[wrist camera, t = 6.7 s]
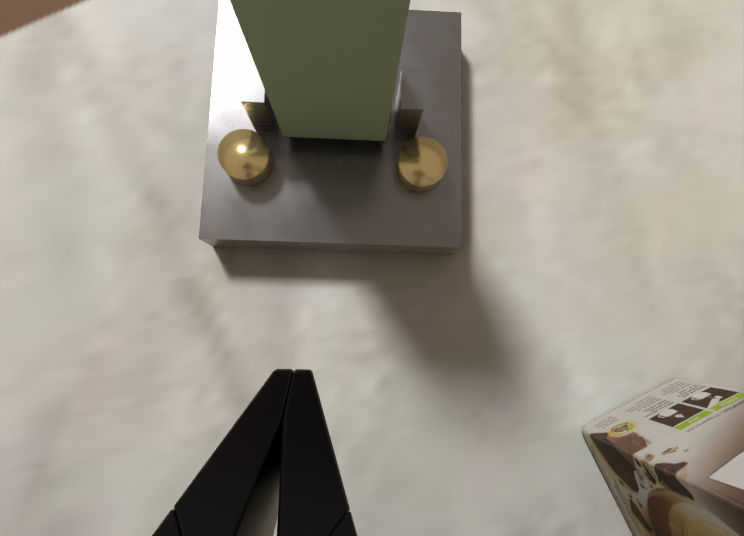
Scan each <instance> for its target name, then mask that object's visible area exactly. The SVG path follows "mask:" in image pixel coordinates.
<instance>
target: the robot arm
mask: <svg viewBox="0 0 744 536" xmlns="http://www.w3.org/2000/svg"><path fill="white" fill-rule="evenodd" d="M174 509H175V510H174ZM174 509H172V510H171V511H170V512H169V513H168V515H167V516H166V517H165V519H164V520H163V522H162V523H161V524H160V526H159V527H158V528H157V530H156V531H155V532H154V534H153V535H152V536H273V534H274V529H275V525H276V521H277V516H278V526H277V536H357V533H356V529H355V526H354V522H353V518H352V515H351V512H349V509H350V508H349V504H348V501H347V497H346V493H345V490H344V486H343V482H342V479H341V475H340V471H339V468H338V464H337V460H336V457H335V453H334V449H333V446H332V442H331V438H330V435H329V431H328V427H327V424H326V420H325V416H324V413H323V409H322V405H321V402H320V398H319V394H318V391H317V387H316V383H315V380H314V376H313V373H312V371H311V370H303V369H297V370H294V372H293V370H291V369H276V370H274V371H273V373H272V374H271V375H270V377H269V378H268V379H267V381H266V382H265V383H264V385H263V386H262V387H261V389H260V390H259V392H258V393H257V394H256V396H255V397H254V398H253V400H252V401H251V402H250V404H249V405H248V406H247V408H246V409H245V411H244V412H243V413H242V415H241V416H240V417H239V419H238V420H237V421H236V423H235V424H234V425H233V427H232V428H231V430H230V431H229V432H228V434H227V435H226V436H225V438H224V439H223V440H222V442H221V443H220V444H219V446H218V447H217V449H216V450H215V451H214V453H213V454H212V455H211V457H210V458H209V459H208V461H207V462H206V463H205V465H204V466H203V468H202V469H201V470H200V472H199V473H198V474H197V476H196V477H195V478H194V480H193V481H192V482H191V484H190V485H189V487H188V488H187V489H186V491H185V492H184V493H183V495H182V496H181V497H180V499H179V500H178V501H177V503H176V504H175V506H174Z"/></svg>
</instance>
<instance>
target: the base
mask: <svg viewBox="0 0 744 536" xmlns="http://www.w3.org/2000/svg"><path fill="white" fill-rule="evenodd" d="M199 239H201V240H202V241H204V242H206V243H208V244H209V245H211V246H220V247H250V248H280V249H310V250H340V251H369V252H399V253H429V254H454V253H455V252H456V251H458V250H459V249H460V248H462V154H461V13H458V12H439V11H421V10H408V16H407V22H406V27H405V33H404V39H403V45H402V50H401V56H400V62H399V68H398V73H397V79H396V85H395V91H394V97H393V102H392V108H391V122H390V125H388V131H387V137H386V141H374V140H351V139H327V138H304V137H283V134H282V132H281V129H280V127H279V124H278V122H277V119H276V117H275V114H274V111H273V109H272V106H271V104H270V101H269V99H268V96H267V94H266V91H265V89H264V86H263V84H262V81H261V78H260V76H259V73H258V71H257V68H256V66H255V63H254V61H253V58H252V56H251V53H250V51H249V48H248V45H247V43H246V40H245V38H244V35H243V33H242V30H241V28H240V25H239V23H238V20H237V18H236V15H235V12H234V10H233V7H232V5H231V2H230V0H219V9H218V21H217V33H216V44H215V56H214V68H213V79H212V91H211V103H210V114H209V126H208V137H207V149H206V161H205V172H204V184H203V196H202V207H201V219H200V231H199Z"/></svg>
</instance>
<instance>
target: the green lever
mask: <svg viewBox="0 0 744 536" xmlns="http://www.w3.org/2000/svg"><path fill="white" fill-rule="evenodd" d="M230 2H231V5H232V7H233V10H234V12H235V15H236V18H237V20H238V23H239V25H240V28H241V30H242V33H243V35H244V38H245V40H246V43H247V45H248V48H249V51H250V53H251V56H252V58H253V61H254V63H255V66H256V68H257V71H258V73H259V76H260V78H261V81H262V84H263V86H264V89H265V91H266V94H267V96H268V99H269V101H270V104H271V106H272V109H273V111H274V114H275V117H276V119H277V122H278V124H279V127H280V129H281V132H282V134H283V137H304V138H327V139H351V140H374V141H386V137H387V131H388V125H390V122H391V108H392V102H393V97H394V91H395V85H396V79H397V73H398V68H399V62H400V56H401V50H402V45H403V39H404V33H405V27H406V22H407V16H408V10H409V4H410V0H230Z"/></svg>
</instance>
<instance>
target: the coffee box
mask: <svg viewBox="0 0 744 536" xmlns="http://www.w3.org/2000/svg"><path fill="white" fill-rule="evenodd" d="M582 433H583V435H584V437H585V439H586V441H587V444H588V446H589V448H590V449H591V451H592V453H593V455H594V457H595V459H596V461H597V463H598V465H599V467H600V469H601V471H602V473H603V475H604V477H605V479H606V481H607V483H608V485H609V487H610V489H611V491H612V493H613V495H614V497H615V499H616V501H617V503H618V505H619V507H620V509H621V511H622V513H623V515H624V517H625V519H626V521H627V523H628V524H629V526H630V528H631V530H632V532H633V534H634V536H744V390H740V389H733V388H728V387H722V386H716V385H711V384H705V383H700V382H694V381H689V380H684V379H674V380H672V381H670V382H668V383H666V384H664V385H662V386H660V387H658V388H656V389H654V390H652V391H650V392H648V393H646V394H644V395H642V396H640V397H638V398H636V399H634V400H632V401H631V402H629V403H627V404H625V405H623V406H621V407H619V408H617V409H615V410H613V411H611V412H609V413H607V414H605V415H604V416H602V417H600V418H598V419H596V420H594V421H592V422H591V423H589V424H587V425H586V426H584V427H583V431H582Z"/></svg>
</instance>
